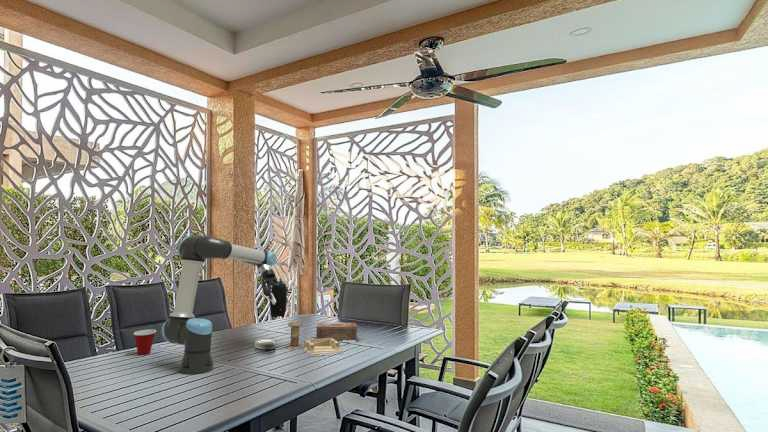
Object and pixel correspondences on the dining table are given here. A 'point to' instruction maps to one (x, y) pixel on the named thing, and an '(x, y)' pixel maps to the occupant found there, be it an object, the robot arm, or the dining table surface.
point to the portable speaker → (278, 300)
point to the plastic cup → (144, 341)
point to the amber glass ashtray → (321, 346)
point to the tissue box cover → (337, 331)
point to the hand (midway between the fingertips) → (281, 302)
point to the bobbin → (294, 335)
